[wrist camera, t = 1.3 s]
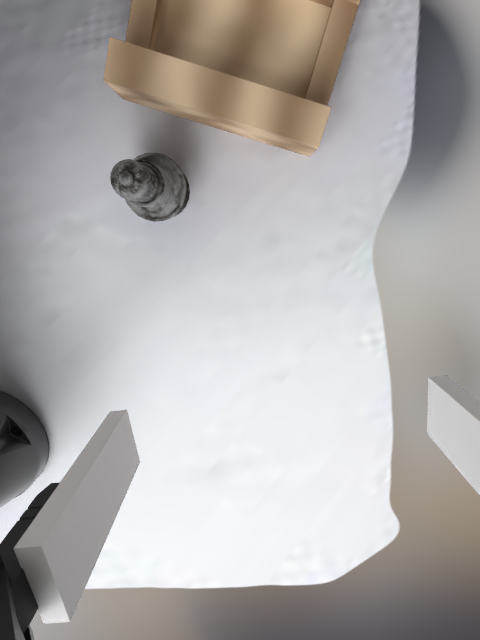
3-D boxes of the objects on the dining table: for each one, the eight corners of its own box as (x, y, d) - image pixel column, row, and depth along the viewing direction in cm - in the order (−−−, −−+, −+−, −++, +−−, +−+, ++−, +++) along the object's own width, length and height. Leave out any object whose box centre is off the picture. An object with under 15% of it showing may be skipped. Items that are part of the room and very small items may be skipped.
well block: (126, 102, 33) (103, 80, 27) (158, -89, 29) (138, -159, 23) (307, 158, 34) (318, 147, 28) (362, -20, 30) (387, -71, 24)
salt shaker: (191, 223, 36) (164, 225, 24) (134, 219, 36) (80, 219, 24) (193, 161, 34) (165, 132, 22) (133, 157, 34) (75, 125, 22)
